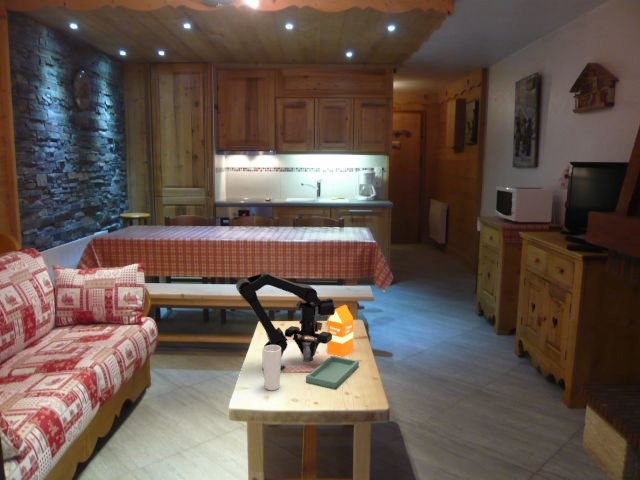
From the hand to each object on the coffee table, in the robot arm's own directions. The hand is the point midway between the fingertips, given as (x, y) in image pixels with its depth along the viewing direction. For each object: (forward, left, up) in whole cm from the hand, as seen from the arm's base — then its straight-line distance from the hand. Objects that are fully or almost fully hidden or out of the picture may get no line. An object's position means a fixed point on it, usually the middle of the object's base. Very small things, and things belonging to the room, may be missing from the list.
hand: (308, 355), depth 204 cm
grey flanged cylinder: (0, 0, -2) cm, 2 cm away
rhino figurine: (+45, +10, -4) cm, 46 cm away
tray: (-4, -13, -4) cm, 14 cm away
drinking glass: (-24, +2, -4) cm, 25 cm away
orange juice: (+18, -6, -4) cm, 19 cm away
